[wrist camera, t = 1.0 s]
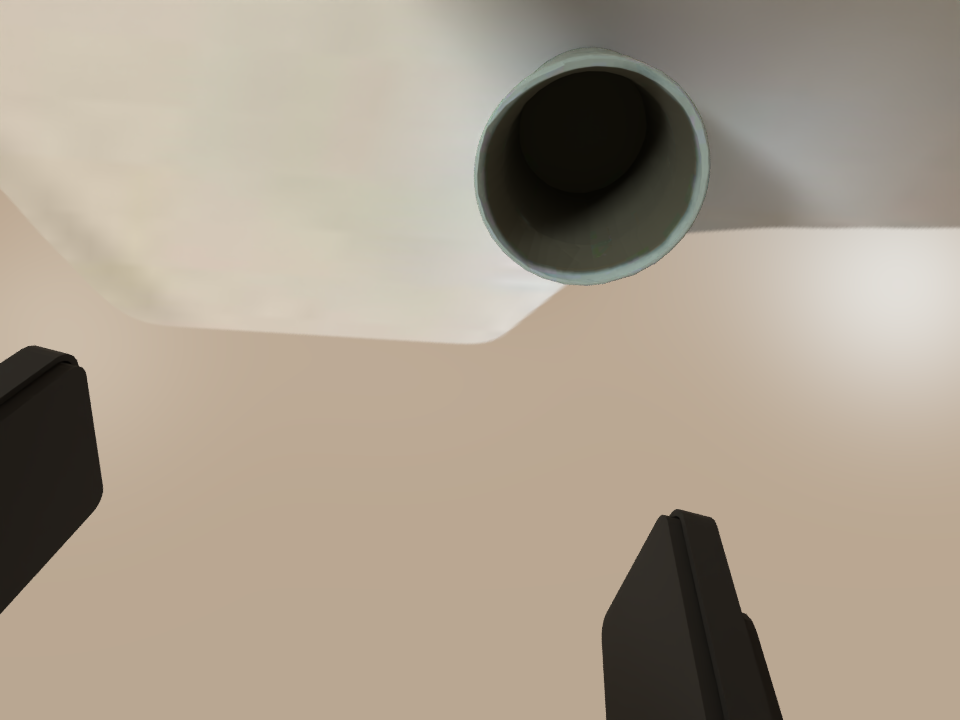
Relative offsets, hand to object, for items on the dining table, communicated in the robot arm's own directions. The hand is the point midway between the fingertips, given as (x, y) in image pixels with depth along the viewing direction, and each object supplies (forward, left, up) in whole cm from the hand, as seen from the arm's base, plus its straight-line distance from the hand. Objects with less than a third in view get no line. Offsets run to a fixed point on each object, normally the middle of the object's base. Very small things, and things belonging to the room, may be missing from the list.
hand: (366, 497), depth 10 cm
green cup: (+3, +3, -32) cm, 33 cm away
